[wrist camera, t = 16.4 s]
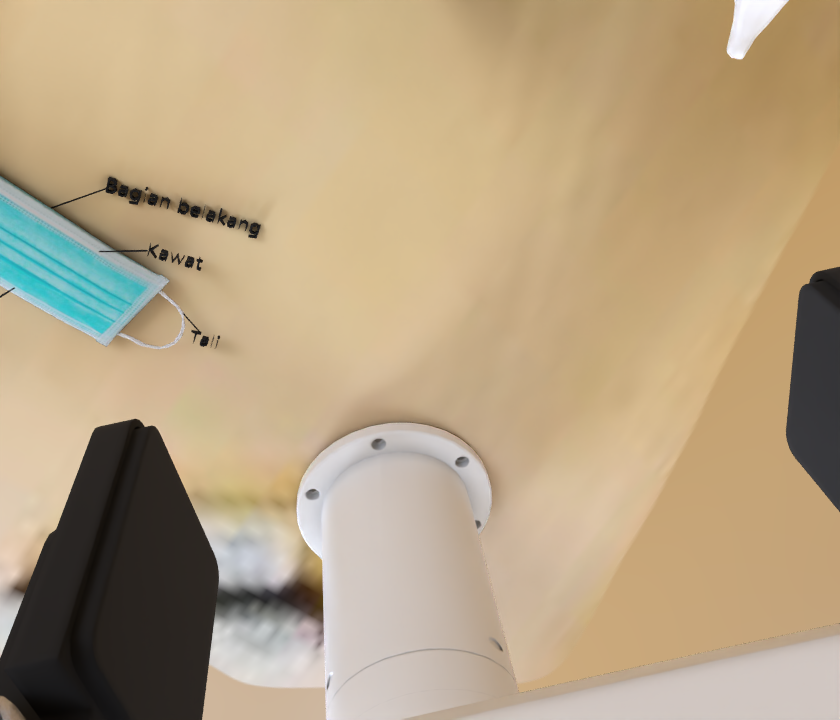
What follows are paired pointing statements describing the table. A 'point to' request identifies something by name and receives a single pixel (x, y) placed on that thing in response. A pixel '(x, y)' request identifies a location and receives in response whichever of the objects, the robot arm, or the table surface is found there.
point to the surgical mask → (81, 266)
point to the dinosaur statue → (750, 23)
